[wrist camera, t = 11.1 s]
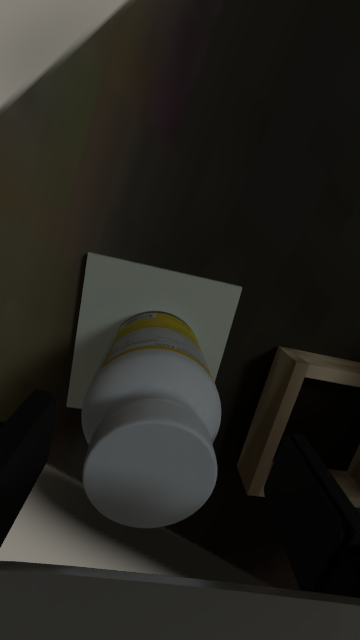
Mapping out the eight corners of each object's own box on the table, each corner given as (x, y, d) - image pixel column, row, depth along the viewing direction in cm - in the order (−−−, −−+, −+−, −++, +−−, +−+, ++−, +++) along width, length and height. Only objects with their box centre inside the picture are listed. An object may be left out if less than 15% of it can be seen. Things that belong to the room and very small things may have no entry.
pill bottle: (147, 402, 22) (135, 573, 11) (92, 342, 20) (8, 472, 9) (214, 355, 21) (276, 487, 10) (163, 289, 19) (170, 358, 8)
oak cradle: (405, 371, 24) (439, 389, 21) (351, 480, 27) (375, 509, 24) (278, 346, 22) (296, 362, 19) (236, 465, 25) (247, 494, 22)
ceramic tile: (239, 286, 20) (242, 287, 20) (200, 421, 23) (201, 426, 23) (90, 252, 19) (88, 252, 18) (68, 402, 22) (66, 406, 21)
